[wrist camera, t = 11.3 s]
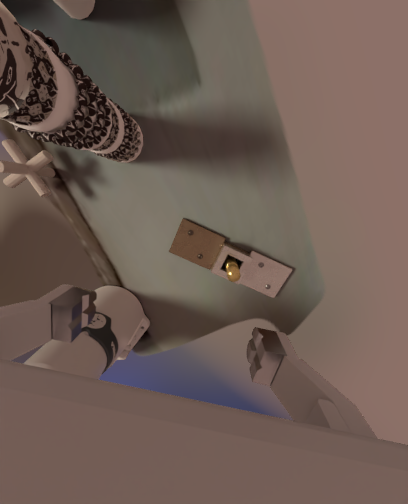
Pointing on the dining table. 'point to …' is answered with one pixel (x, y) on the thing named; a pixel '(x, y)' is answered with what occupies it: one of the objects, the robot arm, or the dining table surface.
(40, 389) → the robot arm
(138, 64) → the dining table surface
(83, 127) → the decorative candle
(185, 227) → the hinge
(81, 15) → the foam cup
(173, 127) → the dining table surface
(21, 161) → the pipe connector
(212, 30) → the dining table surface
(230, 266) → the brass pin
